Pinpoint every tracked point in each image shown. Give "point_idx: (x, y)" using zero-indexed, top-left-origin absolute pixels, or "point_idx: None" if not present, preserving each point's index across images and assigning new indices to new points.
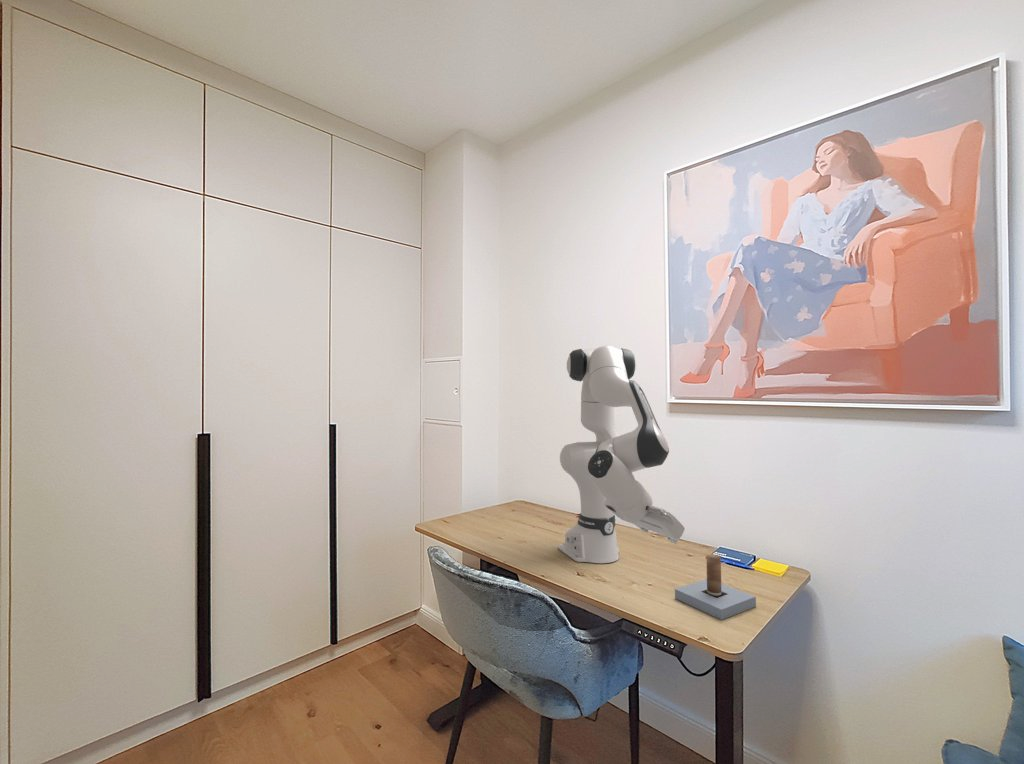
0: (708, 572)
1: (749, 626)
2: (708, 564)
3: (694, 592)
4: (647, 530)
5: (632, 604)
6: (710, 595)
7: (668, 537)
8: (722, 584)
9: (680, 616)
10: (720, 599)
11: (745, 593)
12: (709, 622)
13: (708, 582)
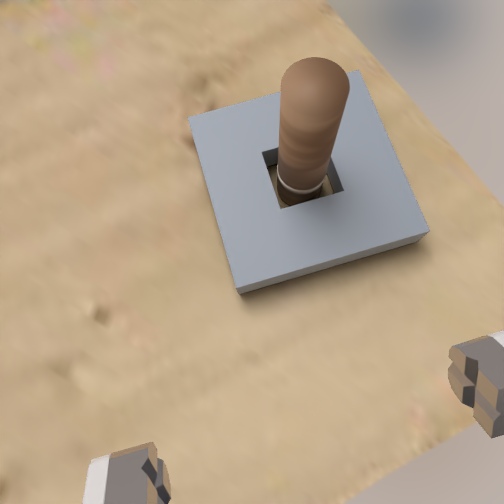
0: (311, 155)
1: (460, 186)
2: (316, 136)
3: (284, 236)
4: (162, 472)
5: (236, 483)
6: (309, 193)
7: (496, 430)
8: (247, 105)
9: (364, 355)
10: (356, 185)
11: None
12: (419, 285)
13: (306, 175)
